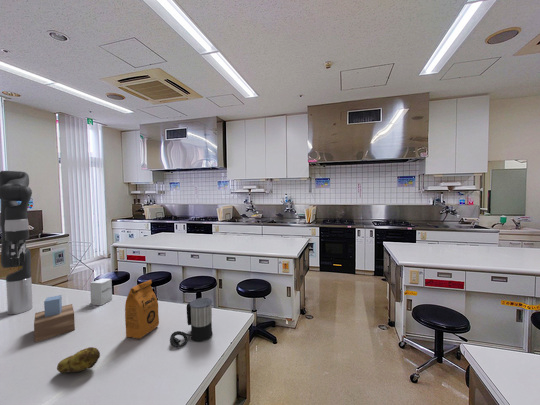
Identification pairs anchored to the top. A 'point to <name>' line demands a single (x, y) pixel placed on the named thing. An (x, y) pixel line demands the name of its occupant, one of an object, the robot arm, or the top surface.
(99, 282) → the supplement box
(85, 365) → the potato
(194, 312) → the milk frother
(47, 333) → the walnut box
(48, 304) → the slate block
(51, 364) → the top surface
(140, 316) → the coffee package
